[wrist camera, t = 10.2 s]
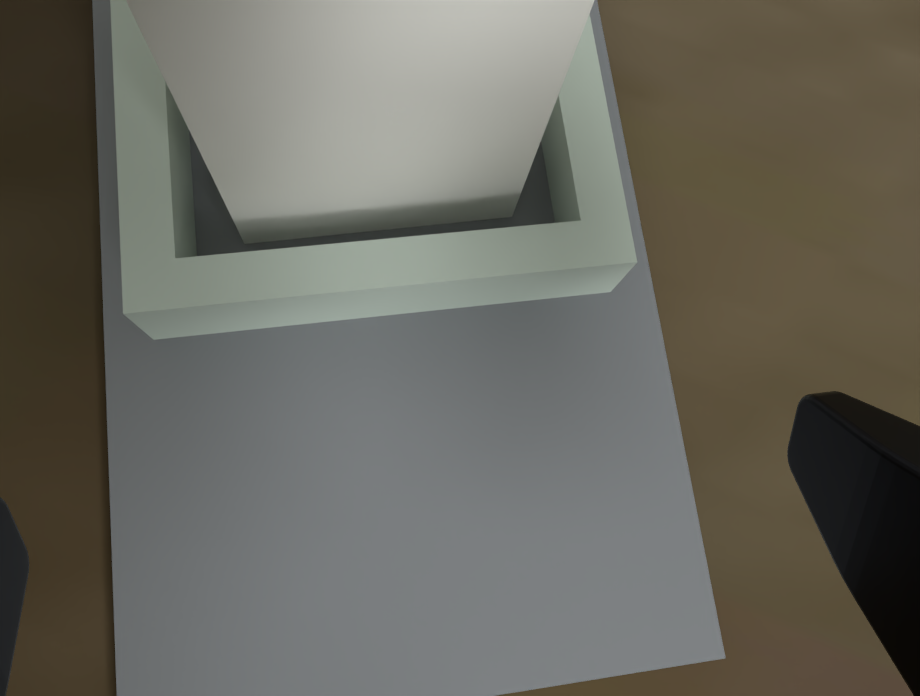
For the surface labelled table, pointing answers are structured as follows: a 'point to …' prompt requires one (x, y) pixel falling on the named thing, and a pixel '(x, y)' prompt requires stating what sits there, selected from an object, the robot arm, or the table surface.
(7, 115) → the table surface
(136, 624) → the docking stand
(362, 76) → the slim case
